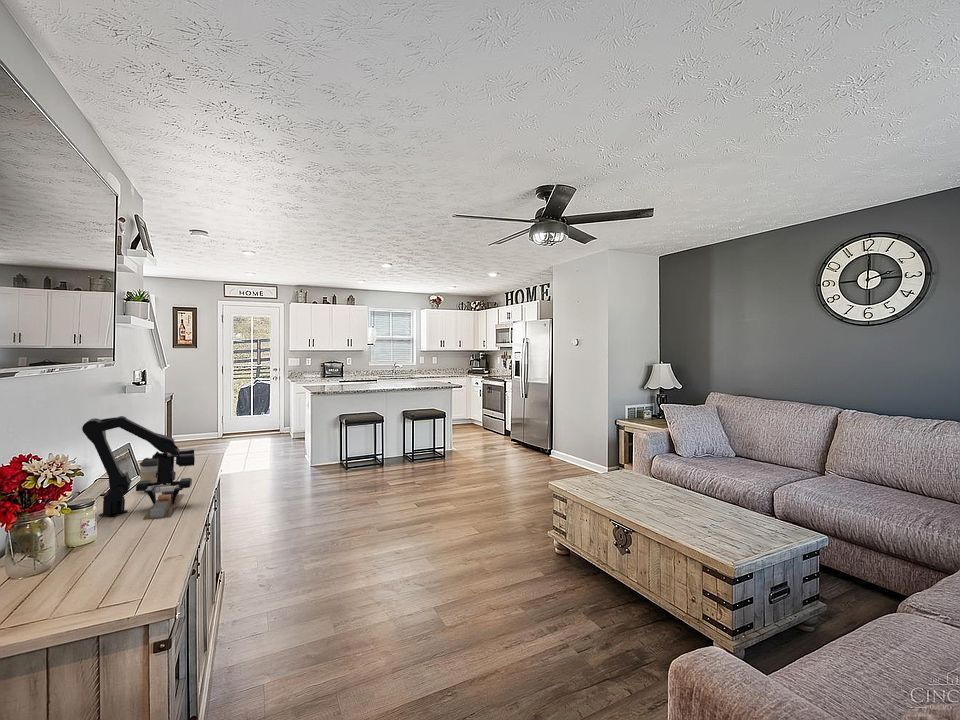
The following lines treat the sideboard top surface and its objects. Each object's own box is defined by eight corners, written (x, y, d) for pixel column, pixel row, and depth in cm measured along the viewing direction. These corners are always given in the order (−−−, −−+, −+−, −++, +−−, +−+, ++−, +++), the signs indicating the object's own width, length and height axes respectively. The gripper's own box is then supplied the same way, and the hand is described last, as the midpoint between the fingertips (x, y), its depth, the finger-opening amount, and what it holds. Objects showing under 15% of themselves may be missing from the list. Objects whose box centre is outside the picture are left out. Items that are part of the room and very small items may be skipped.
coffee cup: (167, 488, 213) (168, 457, 213) (151, 494, 204) (152, 461, 204) (149, 487, 214) (150, 455, 214) (133, 493, 205) (134, 460, 205)
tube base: (170, 517, 180) (171, 506, 180) (143, 519, 177) (143, 508, 177) (183, 495, 206) (184, 486, 206) (160, 496, 202) (160, 487, 202)
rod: (164, 514, 181) (164, 503, 181) (152, 515, 179) (152, 504, 179) (172, 501, 196) (173, 491, 195) (161, 502, 194) (161, 491, 194)
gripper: (194, 461, 200) (193, 496, 201) (143, 464, 193) (142, 500, 193) (190, 468, 190) (188, 505, 190) (136, 470, 183) (134, 509, 183)
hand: (164, 504), depth 189 cm, fingers open, 6 cm apart
